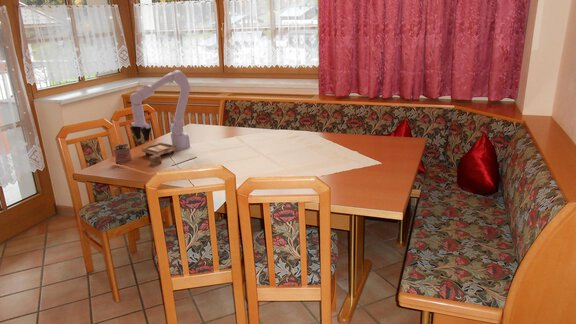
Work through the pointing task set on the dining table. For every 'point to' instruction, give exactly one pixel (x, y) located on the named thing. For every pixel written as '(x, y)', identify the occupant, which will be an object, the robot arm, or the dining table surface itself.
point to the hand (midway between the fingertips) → (142, 139)
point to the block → (155, 159)
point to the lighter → (122, 153)
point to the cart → (159, 149)
